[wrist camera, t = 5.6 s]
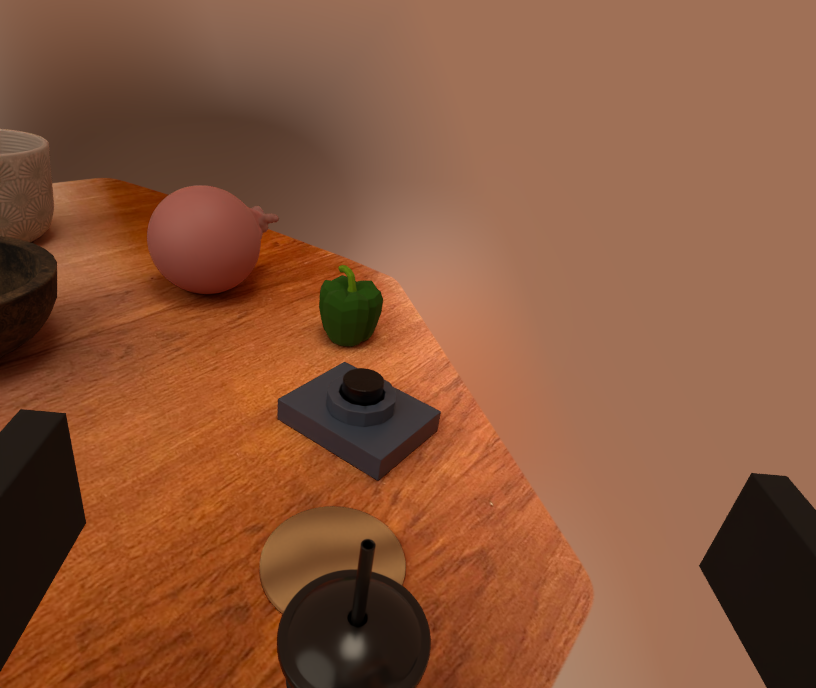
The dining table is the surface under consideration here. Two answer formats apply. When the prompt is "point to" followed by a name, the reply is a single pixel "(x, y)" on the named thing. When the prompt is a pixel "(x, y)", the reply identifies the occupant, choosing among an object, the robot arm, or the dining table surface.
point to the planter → (24, 185)
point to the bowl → (24, 291)
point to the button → (362, 387)
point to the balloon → (206, 238)
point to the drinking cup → (354, 631)
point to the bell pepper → (349, 308)
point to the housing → (359, 422)
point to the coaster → (324, 550)
